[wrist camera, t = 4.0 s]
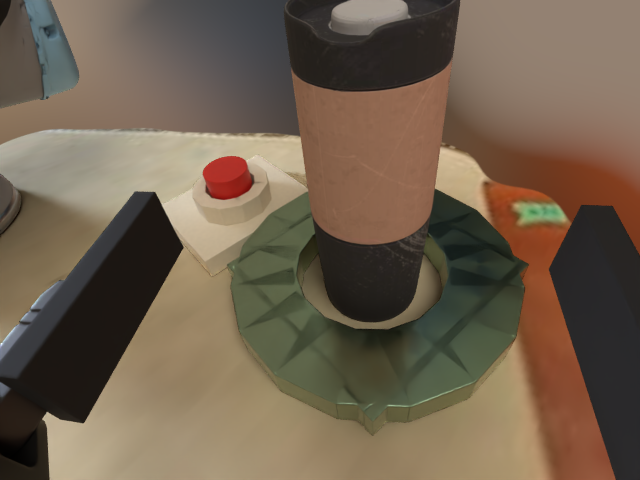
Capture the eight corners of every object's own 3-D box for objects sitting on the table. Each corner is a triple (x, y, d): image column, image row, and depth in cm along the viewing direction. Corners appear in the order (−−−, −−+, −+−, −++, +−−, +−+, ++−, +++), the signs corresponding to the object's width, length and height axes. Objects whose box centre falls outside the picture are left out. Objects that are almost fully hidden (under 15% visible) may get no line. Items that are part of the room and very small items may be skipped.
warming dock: (194, 283, 32) (184, 264, 30) (368, 173, 41) (368, 153, 39) (373, 507, 20) (373, 496, 18) (568, 285, 29) (581, 264, 27)
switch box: (164, 221, 38) (147, 190, 35) (261, 169, 43) (254, 138, 40) (212, 276, 33) (196, 245, 30) (318, 209, 37) (314, 176, 34)
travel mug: (387, 237, 34) (398, -35, 20) (439, 301, 29) (507, -5, 14) (308, 269, 32) (257, -4, 18) (349, 342, 27) (324, 42, 13)
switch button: (201, 187, 36) (194, 169, 34) (237, 168, 37) (232, 151, 36) (223, 207, 33) (216, 188, 32) (260, 186, 35) (255, 167, 33)
